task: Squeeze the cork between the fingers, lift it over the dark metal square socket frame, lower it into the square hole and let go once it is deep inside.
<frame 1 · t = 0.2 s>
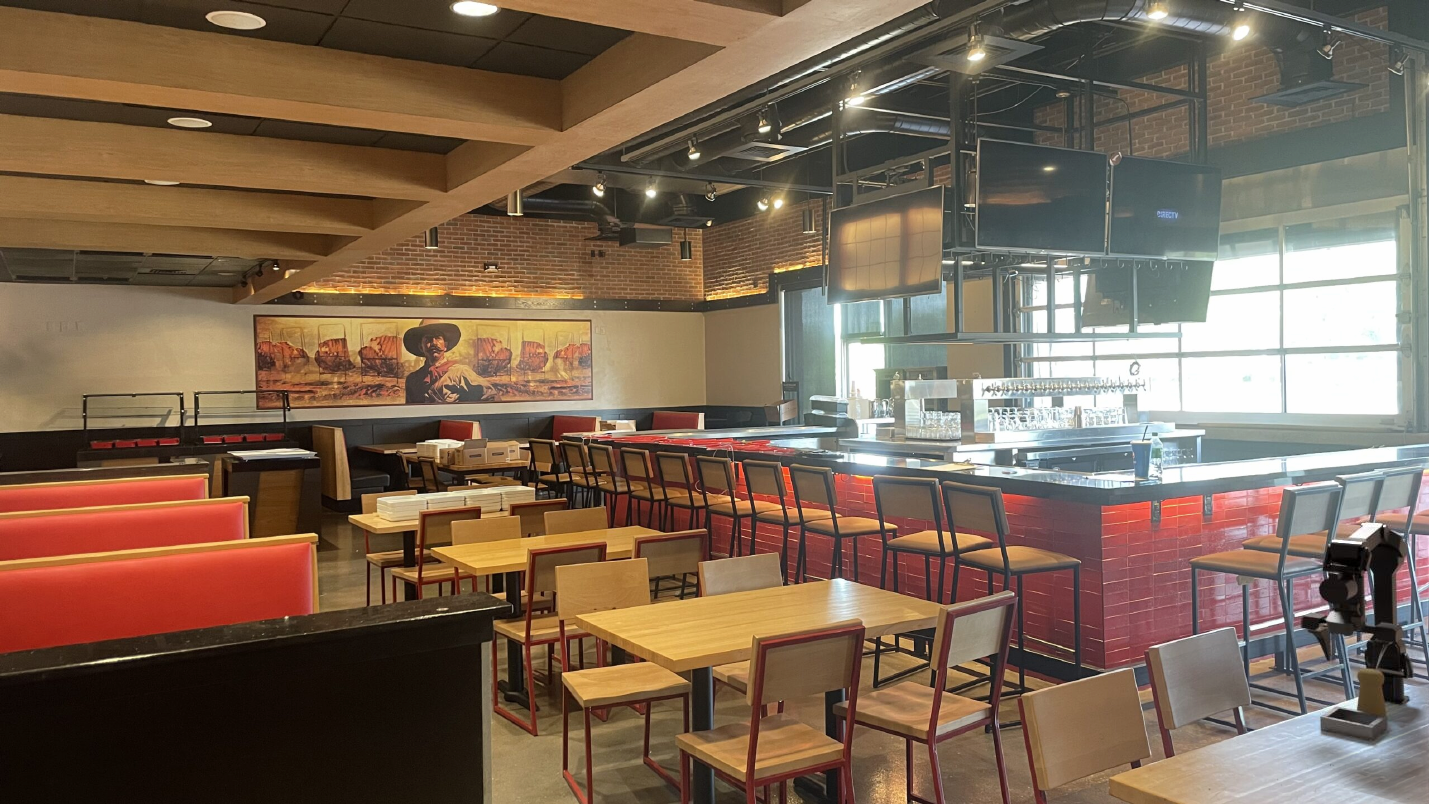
hand: (1351, 664, 219), 14 cm above the table, tool pointing down, fingers open, 9 cm apart
socket frame: (1353, 729, 217), on the table
cork: (1371, 717, 225), on the table
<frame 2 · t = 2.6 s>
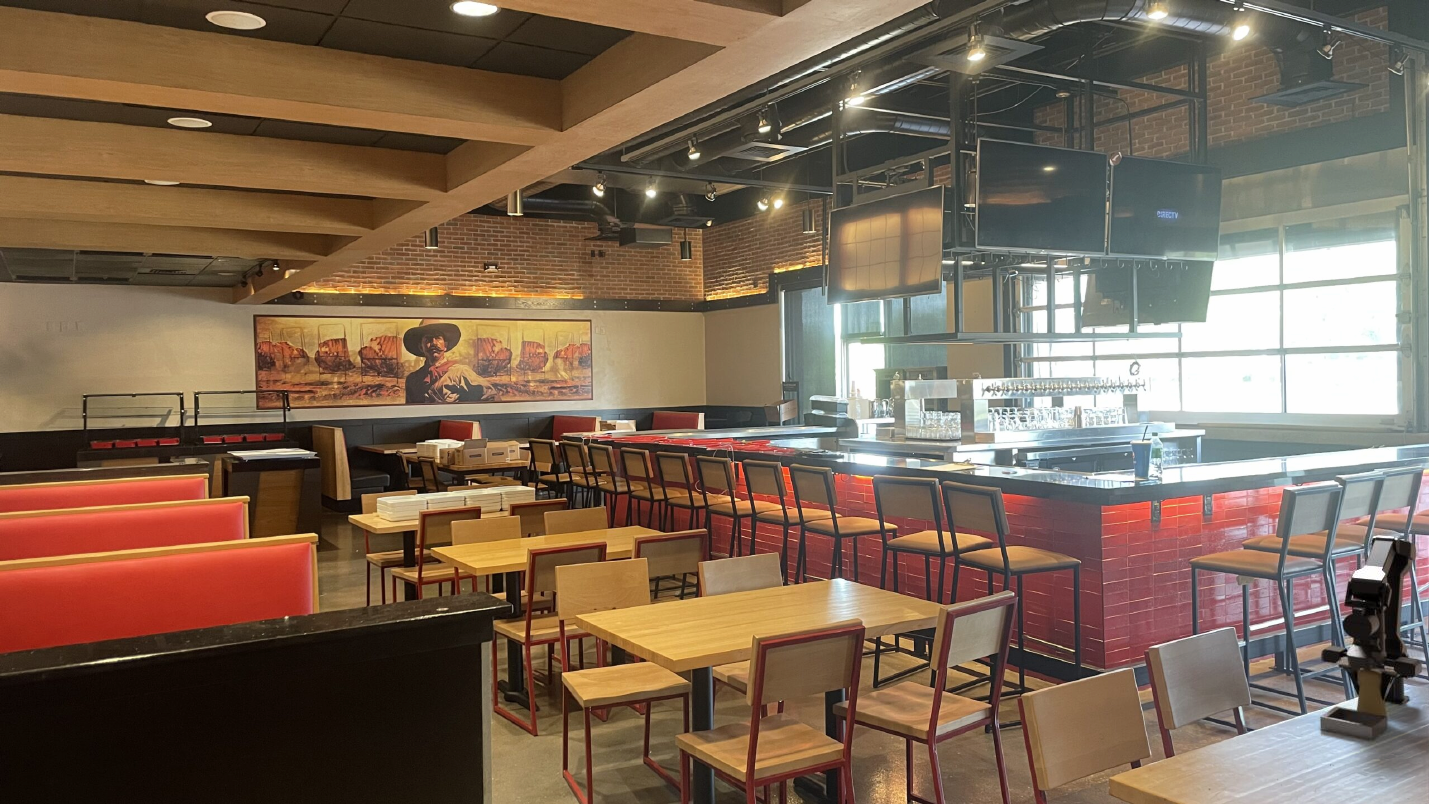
hand: (1371, 697, 225), 5 cm above the table, tool pointing down, fingers closed on cork, 4 cm apart
cork: (1371, 717, 225), on the table, touching gripper
when the fingers open (5 cm above the table, at t = 7.4 s): cork stays where it is, resting in socket frame.
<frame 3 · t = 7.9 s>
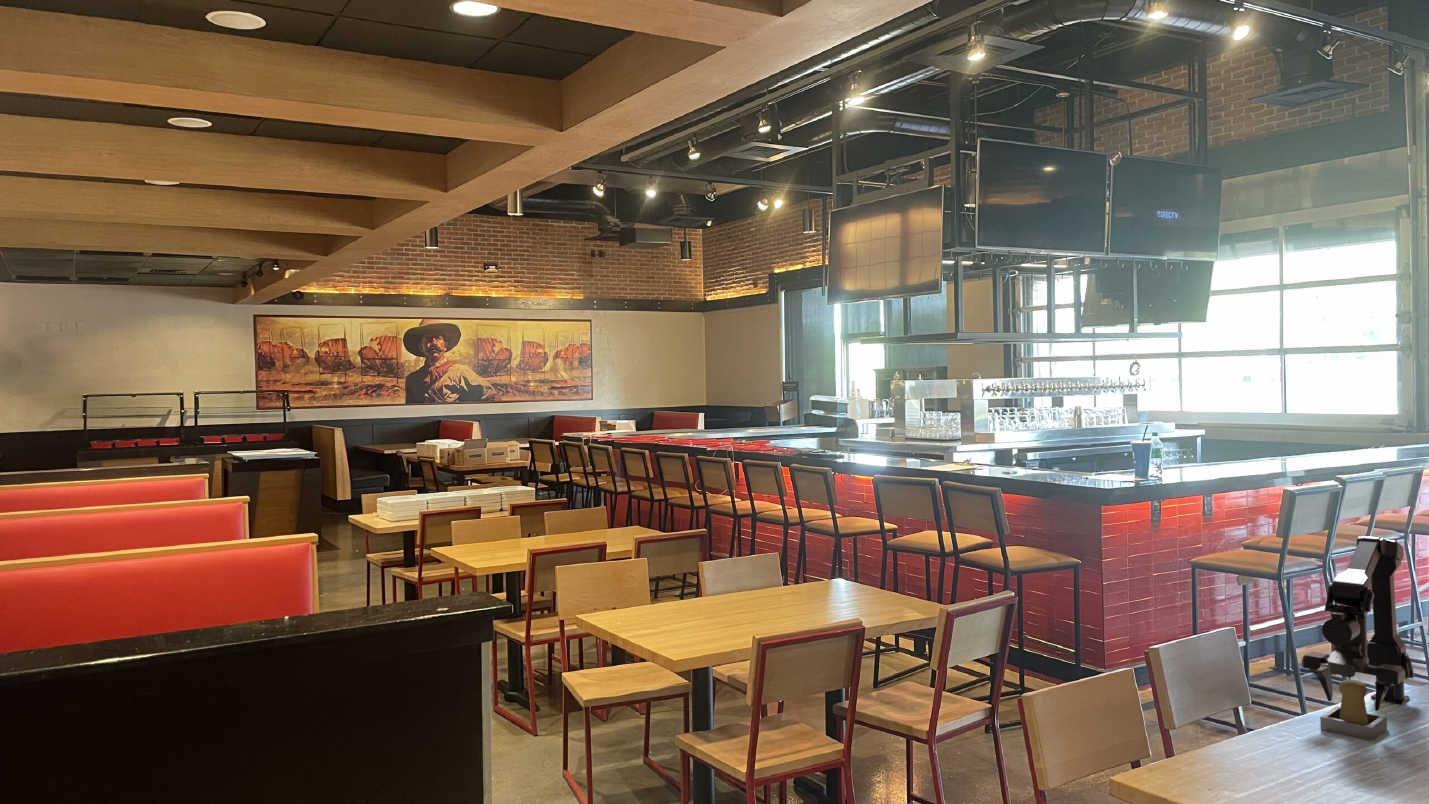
hand: (1353, 705, 217), 5 cm above the table, tool pointing down, fingers open, 9 cm apart
cork: (1353, 730, 217), resting in socket frame
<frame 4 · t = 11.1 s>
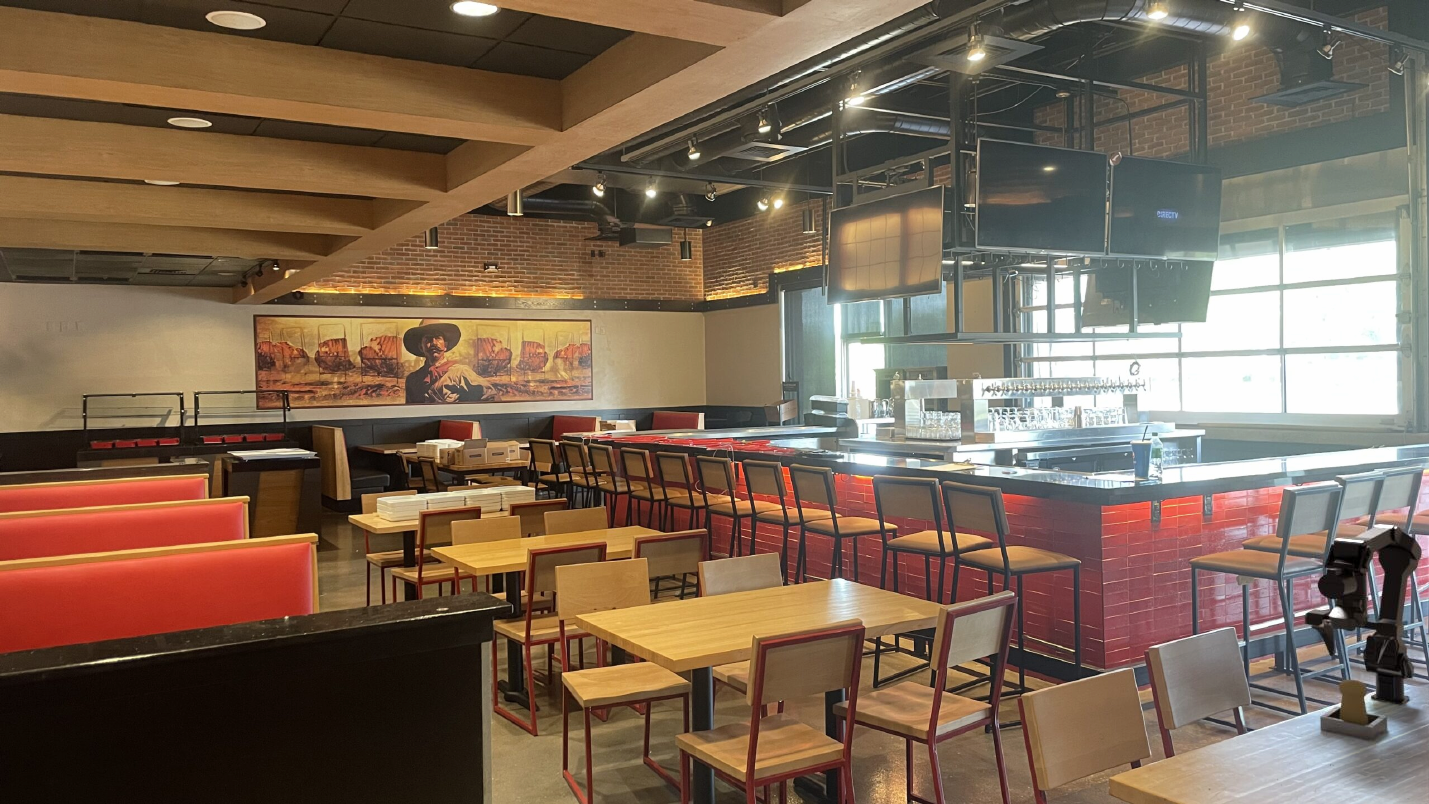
hand: (1353, 659, 226), 13 cm above the table, tool pointing down, fingers open, 9 cm apart
nothing on the table moved.
at the end: cork 0.1 cm off-centre on the socket frame, point 0.0 cm above the socket frame's base; cork tilted 0°; the gripper is holding nothing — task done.
